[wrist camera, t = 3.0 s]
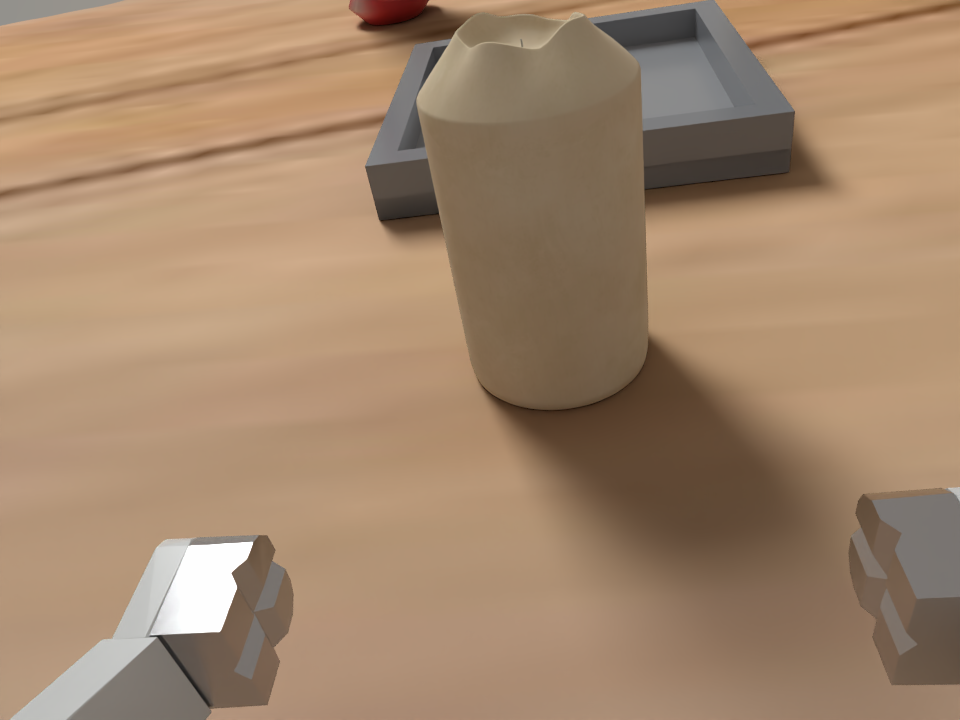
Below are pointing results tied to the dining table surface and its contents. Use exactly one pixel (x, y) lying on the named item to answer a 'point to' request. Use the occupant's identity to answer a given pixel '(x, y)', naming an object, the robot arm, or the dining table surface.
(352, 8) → the liquor
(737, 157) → the dish
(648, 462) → the dining table surface
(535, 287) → the candle
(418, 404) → the dining table surface
